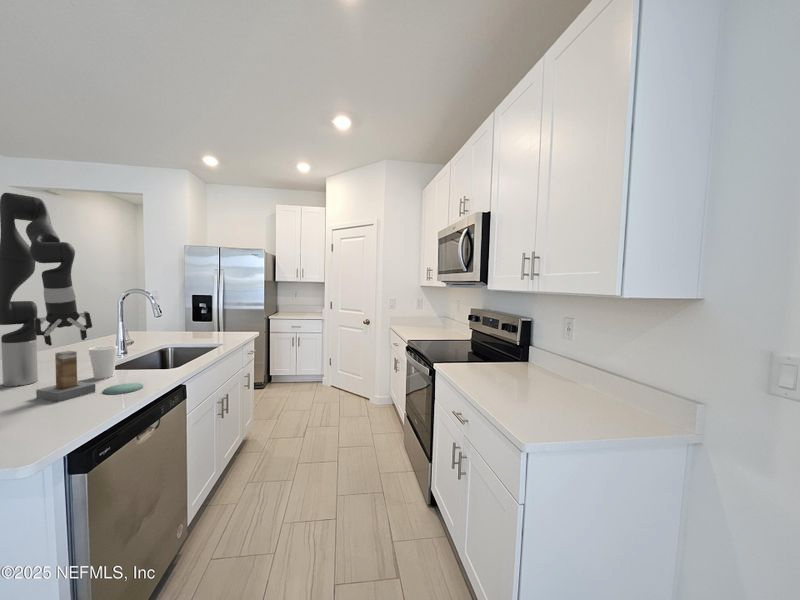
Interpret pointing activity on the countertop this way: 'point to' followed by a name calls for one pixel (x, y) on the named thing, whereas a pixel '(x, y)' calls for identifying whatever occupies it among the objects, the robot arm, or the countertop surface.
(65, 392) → the socket block
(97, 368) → the foam cup
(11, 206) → the robot arm
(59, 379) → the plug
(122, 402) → the countertop surface
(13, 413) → the countertop surface
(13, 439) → the countertop surface
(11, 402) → the countertop surface
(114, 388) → the mat
